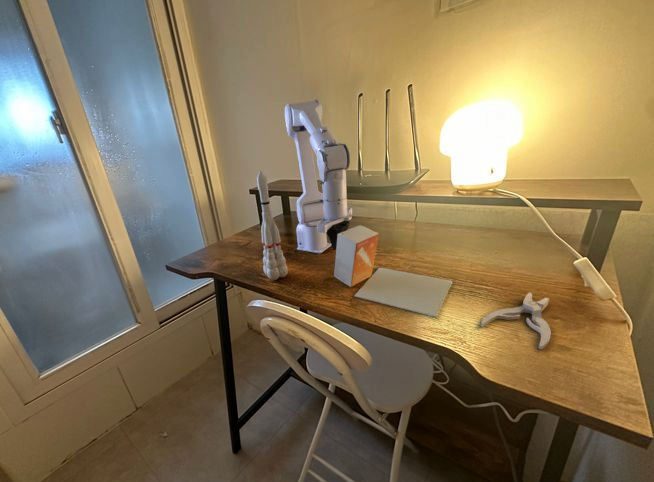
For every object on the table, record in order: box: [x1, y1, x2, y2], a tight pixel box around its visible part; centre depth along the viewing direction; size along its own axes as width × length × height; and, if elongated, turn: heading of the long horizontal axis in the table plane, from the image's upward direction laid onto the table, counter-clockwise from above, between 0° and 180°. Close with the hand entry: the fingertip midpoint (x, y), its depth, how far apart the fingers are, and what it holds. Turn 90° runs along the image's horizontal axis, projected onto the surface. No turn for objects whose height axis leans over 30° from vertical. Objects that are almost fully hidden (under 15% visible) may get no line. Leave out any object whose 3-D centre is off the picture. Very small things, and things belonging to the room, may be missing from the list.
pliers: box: [479, 292, 552, 350], centre depth 58 cm, size 10×2×15 cm
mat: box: [353, 267, 453, 318], centre depth 73 cm, size 18×16×1 cm
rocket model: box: [256, 169, 289, 281], centre depth 81 cm, size 7×7×30 cm
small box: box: [333, 224, 379, 288], centre depth 77 cm, size 8×6×13 cm
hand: (337, 249), depth 80 cm, fingers closed
